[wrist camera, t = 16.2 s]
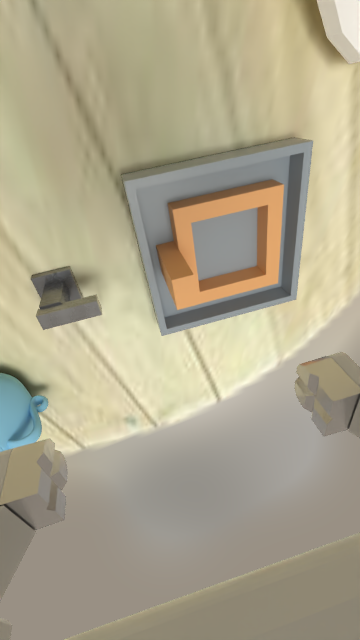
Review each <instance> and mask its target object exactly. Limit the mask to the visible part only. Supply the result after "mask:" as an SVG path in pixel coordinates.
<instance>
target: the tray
mask: <svg viewBox="0 0 360 640" xmlns="http://www.w3.org/2000/svg"><path fill="white" fill-rule="evenodd" d="M312 147H313V141H312V140H306V139H300V138H295V137H294V138H289V139H285V140H280V141H275V142H271V143H266V144H261V145H257V146H252V147H247V148H243V149H238V150H233V151H229V152H224V153H219V154H215V155H210V156H205V157H201V158H196V159H191V160H187V161H182V162H177V163H173V164H168V165H163V166H159V167H154V168H149V169H145V170H140V171H136V172H131V173H126V174H122V175H121V177H122V181H123V185H124V189H125V193H126V197H127V201H128V205H129V209H130V213H131V217H132V221H133V226H134V230H135V234H136V238H137V242H138V246H139V250H140V254H141V258H142V262H143V266H144V270H145V274H146V278H147V282H148V286H149V290H150V294H151V298H152V302H153V306H154V310H155V314H156V318H157V322H158V325H159V329H160V332H161V335H162V336H163V335H167V334H171V333H174V332H178V331H182V330H185V329H189V328H193V327H197V326H200V325H204V324H208V323H211V322H215V321H219V320H222V319H226V318H230V317H233V316H237V315H241V314H244V313H248V312H252V311H255V310H259V309H263V308H266V307H270V306H274V305H277V304H281V303H285V302H288V301H292V300H296V296H297V287H298V277H299V268H300V259H301V249H302V240H303V231H304V221H305V212H306V203H307V193H308V184H309V175H310V165H311V156H312ZM272 179H273V180H275V181H277V182H280V183H282V184H284V194H283V210H282V227H281V243H280V260H279V276H278V283H277V284H273V285H269V286H266V287H262V288H258V289H254V290H251V291H247V292H243V293H239V294H235V295H232V296H228V297H224V298H220V299H216V300H213V301H209V302H205V303H201V304H198V305H195V306H191V307H187V308H183V309H179V310H177V308H176V306H175V303H174V301H173V299H172V296H171V294H170V291H169V289H168V287H167V284H166V282H165V279H164V277H163V275H162V272H161V268H160V263H159V259H158V254H157V249H156V245H159V244H163V243H167V242H172V241H174V239H173V233H172V228H171V222H170V216H169V210H168V204H167V203H170V202H175V201H179V200H183V199H188V198H192V197H197V196H201V195H205V194H210V193H214V192H219V191H223V190H228V189H232V188H236V187H241V186H245V185H250V184H254V183H258V182H263V181H267V180H272ZM257 209H258V207H256V208H252V209H248V210H244V211H239V212H235V213H231V214H227V215H222V216H218V217H214V218H210V219H206V220H201V221H197V222H193V223H191V226H192V234H193V242H194V249H195V257H196V265H197V273H198V281H200V280H204V279H208V278H212V277H215V276H219V275H223V274H227V273H231V272H235V271H239V270H243V269H247V268H251V267H255V266H257Z"/></svg>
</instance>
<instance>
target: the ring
mask: <svg viewBox="0 0 360 640" xmlns="http://www.w3.org/2000/svg"><path fill="white" fill-rule="evenodd" d="M283 194H284V184H282V183H280V182H277V181H275V180H273V179H272V180H267V181H263V182H258V183H254V184H250V185H245V186H241V187H236V188H232V189H228V190H223V191H219V192H214V193H210V194H205V195H201V196H197V197H192V198H188V199H183V200H179V201H175V202H170V203H167V204H168V210H169V216H170V222H171V228H172V233H173V239H174V241H172V242H167V243H163V244H159V245H156V249H157V254H158V259H159V263H160V268H161V272H162V275H163V277H164V279H165V282H166V284H167V287H168V289H169V291H170V294H171V296H172V299H173V301H174V303H175V306H176V308H177V310H179V309H183V308H187V307H191V306H195V305H198V304H201V303H205V302H209V301H213V300H216V299H220V298H224V297H228V296H232V295H235V294H239V293H243V292H247V291H251V290H254V289H258V288H262V287H266V286H269V285H273V284H277V283H278V276H279V260H280V243H281V227H282V210H283ZM256 207H258V209H257V266H255V267H251V268H247V269H243V270H239V271H235V272H231V273H227V274H223V275H219V276H215V277H212V278H208V279H204V280H200V281H198V273H197V265H196V257H195V249H194V242H193V234H192V226H191V223H193V222H197V221H201V220H206V219H210V218H214V217H218V216H222V215H227V214H231V213H235V212H239V211H244V210H248V209H252V208H256Z"/></svg>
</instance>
